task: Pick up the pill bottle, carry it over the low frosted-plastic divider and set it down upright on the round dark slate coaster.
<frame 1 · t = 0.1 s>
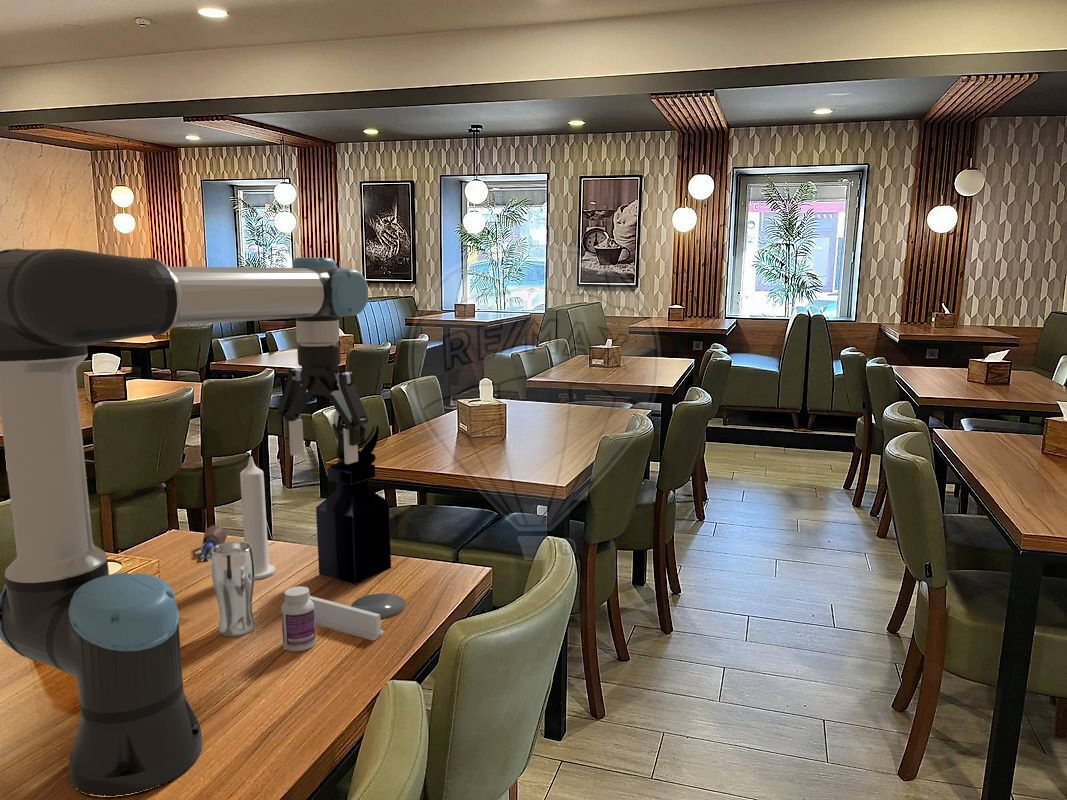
hand: (323, 458, 144), 28 cm above the table, fingers open, 13 cm apart
candle: (257, 574, 162), on the table
figurine: (211, 553, 175), on the table
divider: (339, 626, 138), on the table
beer glass: (237, 630, 137), on the table
vase: (356, 571, 164), on the table
coaster: (378, 607, 146), on the table
pill bottle: (299, 646, 131), on the table
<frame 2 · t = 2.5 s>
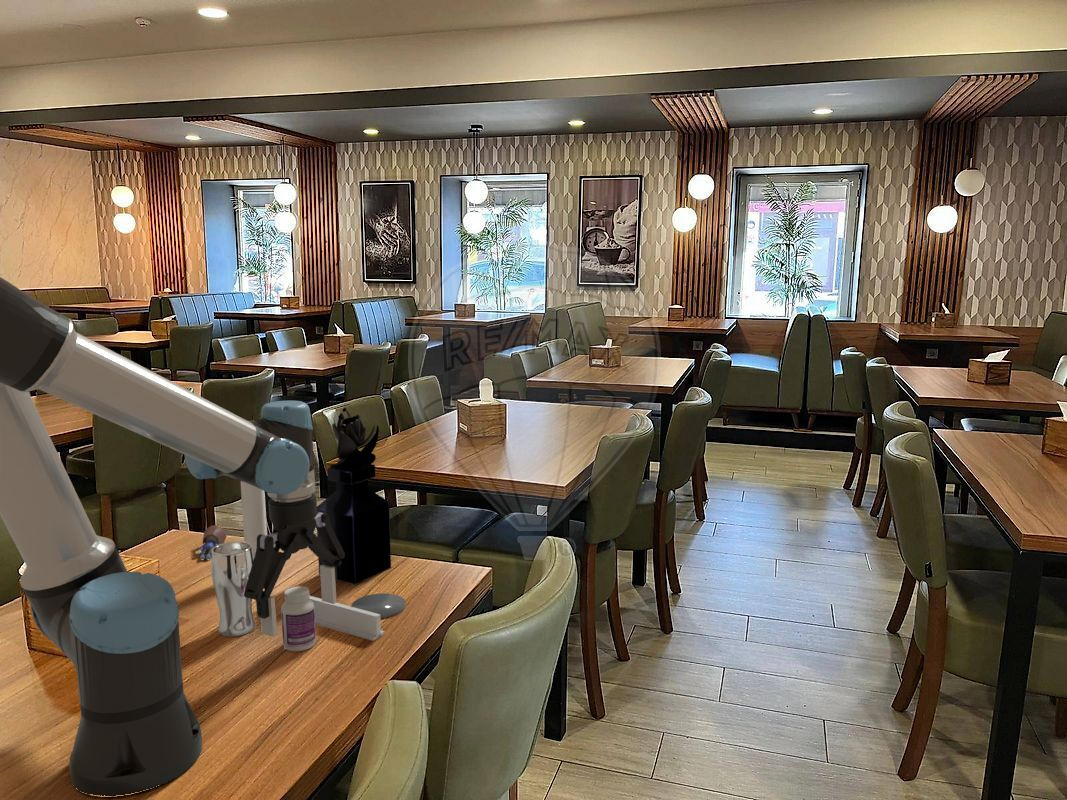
hand: (300, 617, 130), 5 cm above the table, fingers open, 13 cm apart
nothing on the table moved.
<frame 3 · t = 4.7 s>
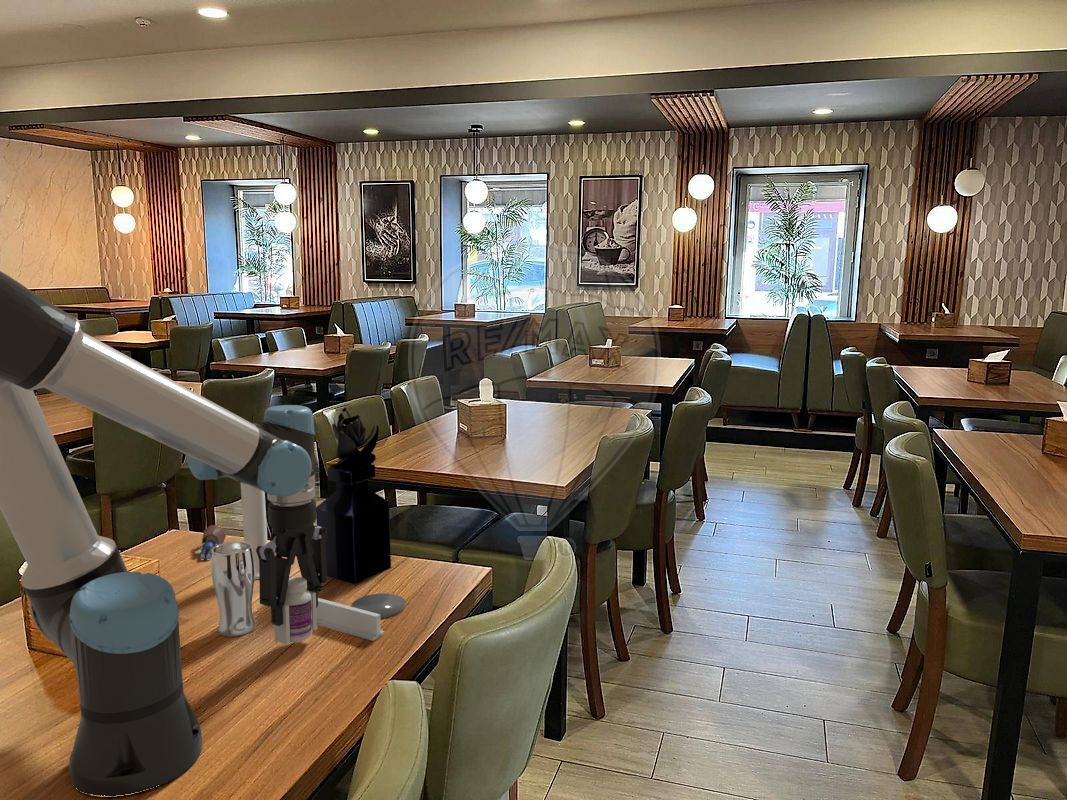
hand: (296, 634, 130), 2 cm above the table, fingers closed on pill bottle, 5 cm apart
pill bottle: (296, 637, 130), point 2 cm above the table, touching gripper
everything else where it was.
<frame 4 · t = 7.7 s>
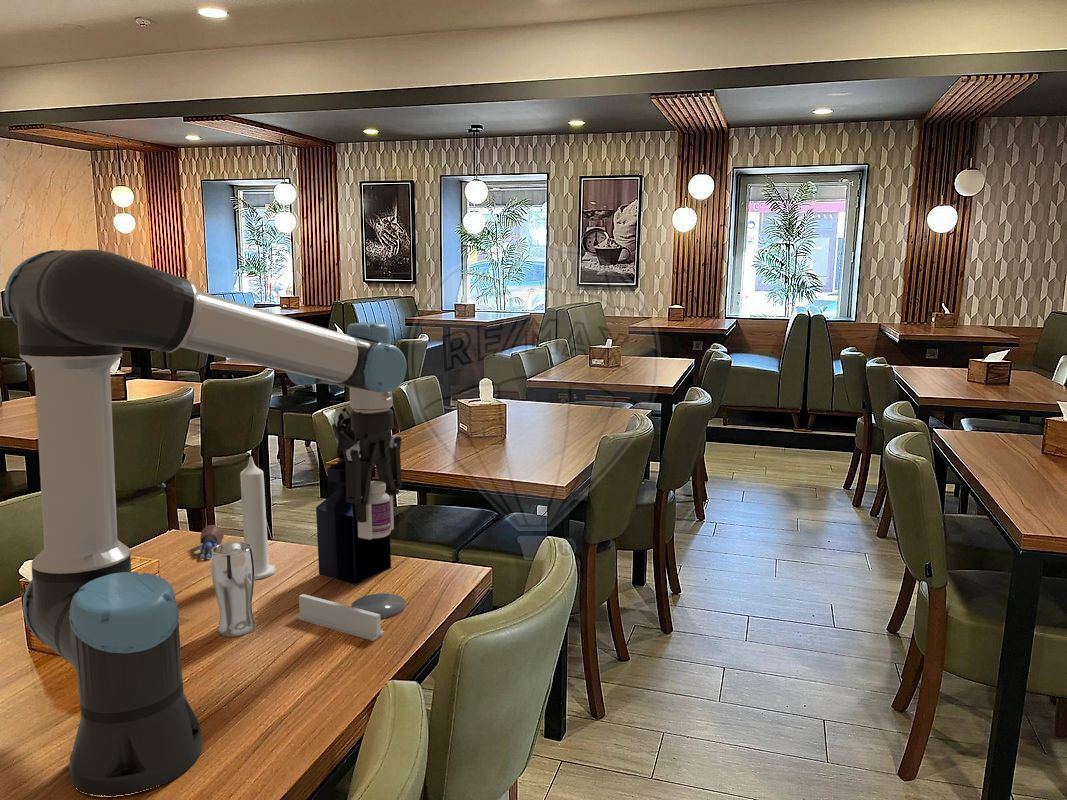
hand: (376, 532, 143), 15 cm above the table, fingers closed on pill bottle, 5 cm apart
pill bottle: (376, 535, 143), point 14 cm above the table, touching gripper
everything else where it was.
when the fingers open (2 cm above the table, at t = 10.5 s): pill bottle stays where it is, resting on coaster.
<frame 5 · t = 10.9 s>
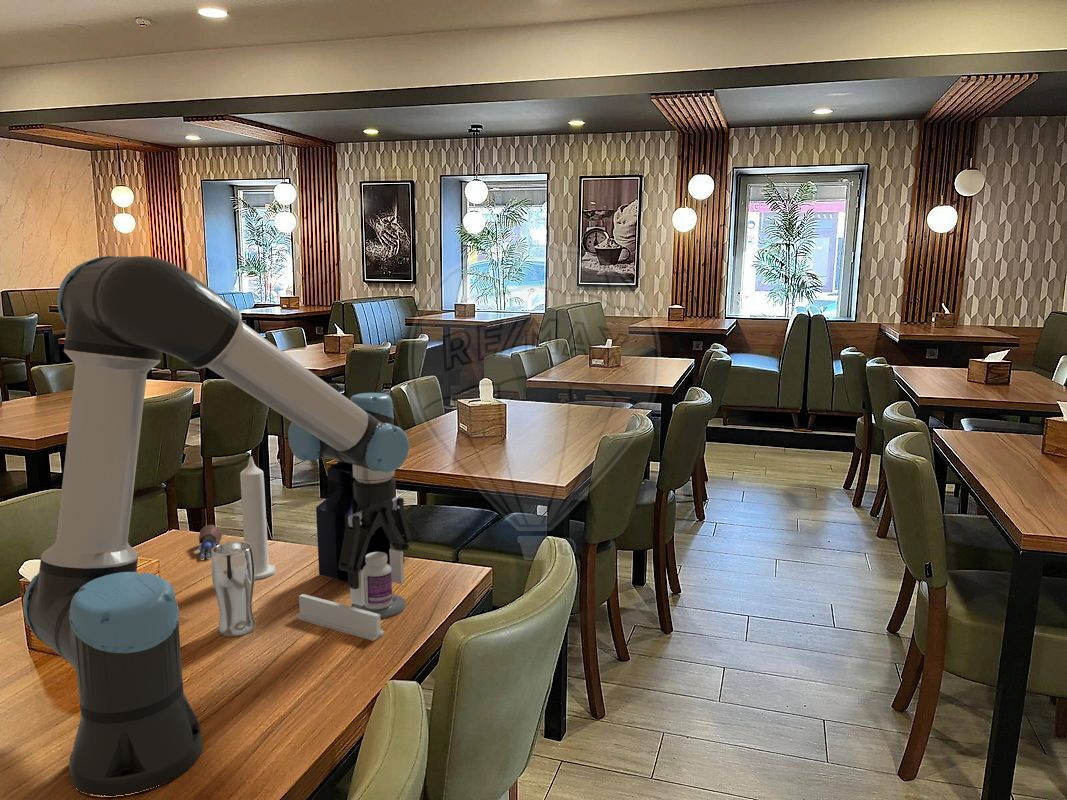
hand: (378, 592, 145), 3 cm above the table, fingers open, 10 cm apart
pill bottle: (378, 605, 145), resting on coaster
everything else where it was.
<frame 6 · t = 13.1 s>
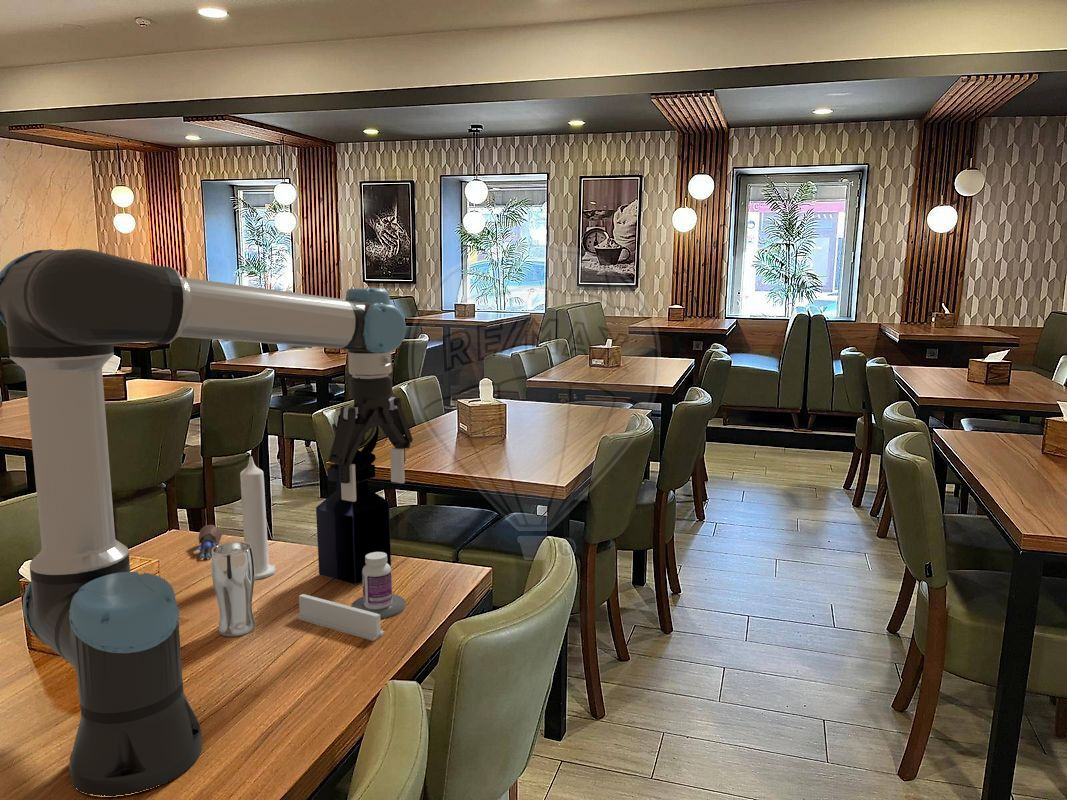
hand: (374, 491, 142), 23 cm above the table, fingers open, 13 cm apart
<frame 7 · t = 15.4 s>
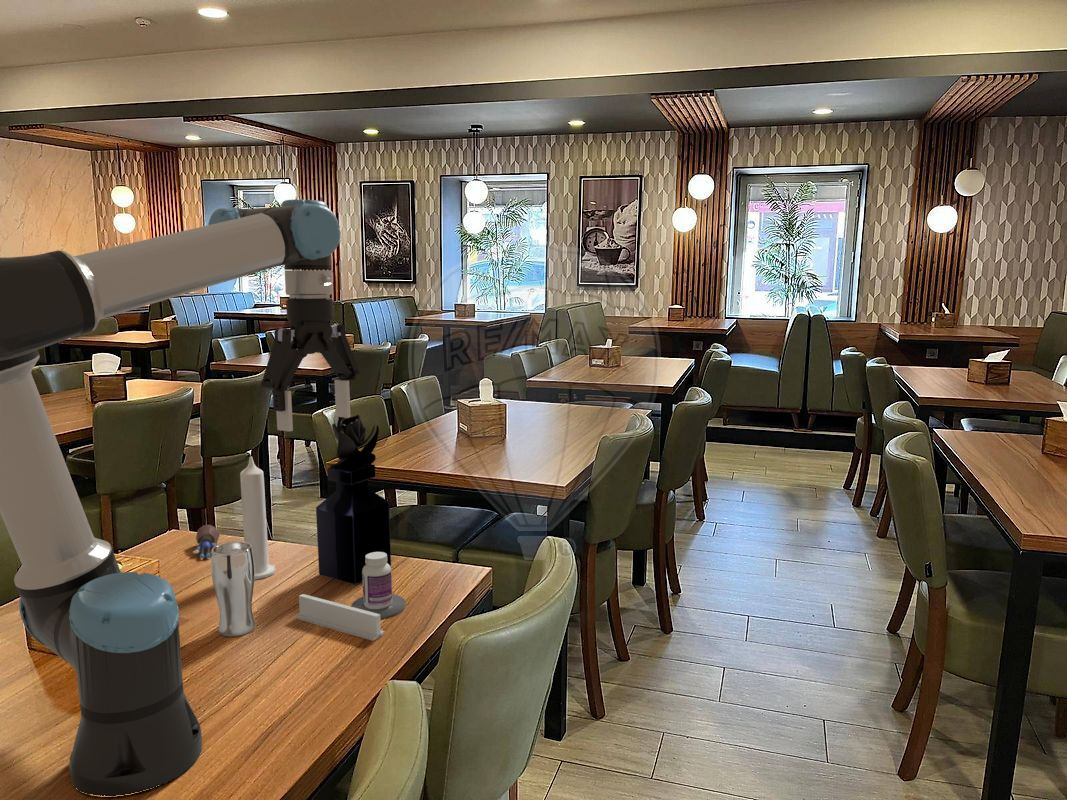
hand: (315, 423, 131), 37 cm above the table, fingers open, 13 cm apart
at the end: pill bottle 0.1 cm from the coaster (horizontally); pill bottle tilted 0°; the gripper is holding nothing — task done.
